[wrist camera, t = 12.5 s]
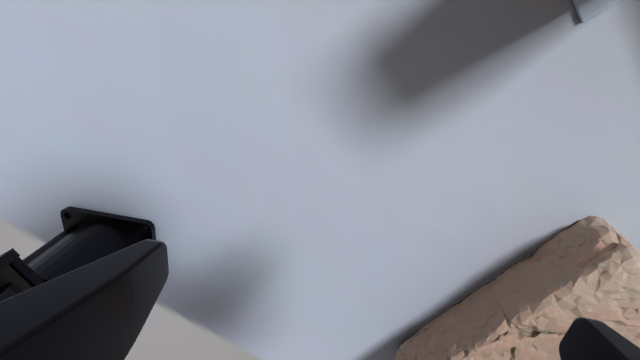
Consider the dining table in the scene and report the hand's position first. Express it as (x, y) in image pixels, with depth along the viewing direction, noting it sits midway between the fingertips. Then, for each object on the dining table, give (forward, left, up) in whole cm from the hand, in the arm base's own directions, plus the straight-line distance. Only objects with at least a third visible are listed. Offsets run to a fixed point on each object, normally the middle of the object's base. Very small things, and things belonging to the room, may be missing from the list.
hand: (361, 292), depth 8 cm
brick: (+13, -12, -14) cm, 22 cm away
